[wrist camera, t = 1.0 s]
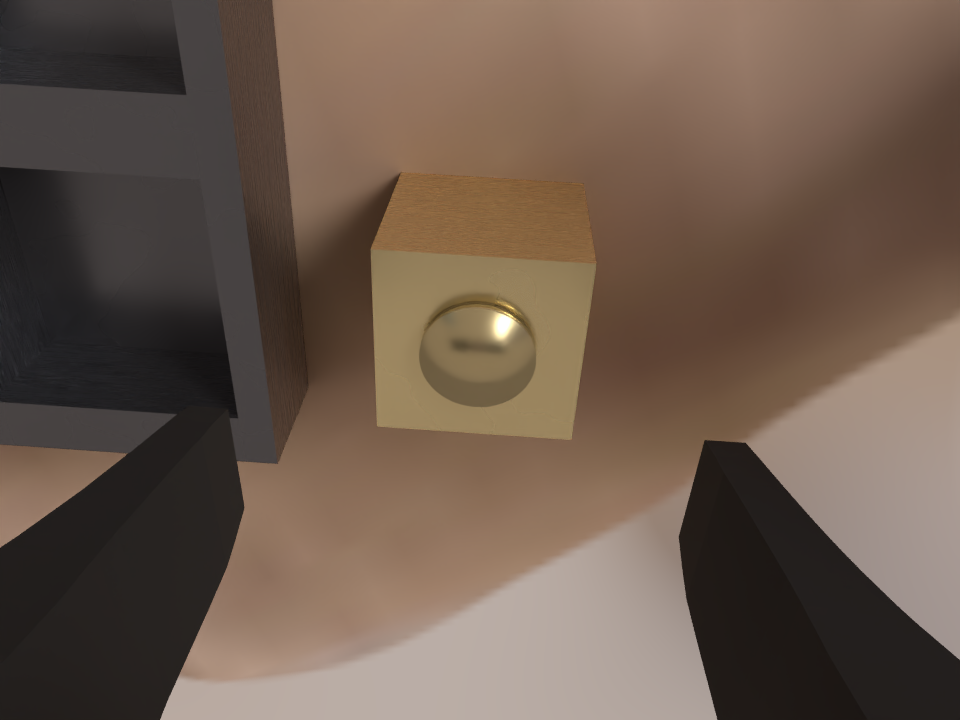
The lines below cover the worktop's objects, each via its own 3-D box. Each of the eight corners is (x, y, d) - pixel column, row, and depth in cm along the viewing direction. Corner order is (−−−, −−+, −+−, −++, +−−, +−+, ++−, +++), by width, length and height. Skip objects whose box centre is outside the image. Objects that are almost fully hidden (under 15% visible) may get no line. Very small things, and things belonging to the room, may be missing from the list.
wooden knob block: (583, 182, 17) (597, 272, 13) (563, 337, 19) (571, 449, 16) (401, 171, 17) (367, 256, 13) (403, 326, 19) (374, 435, 16)
